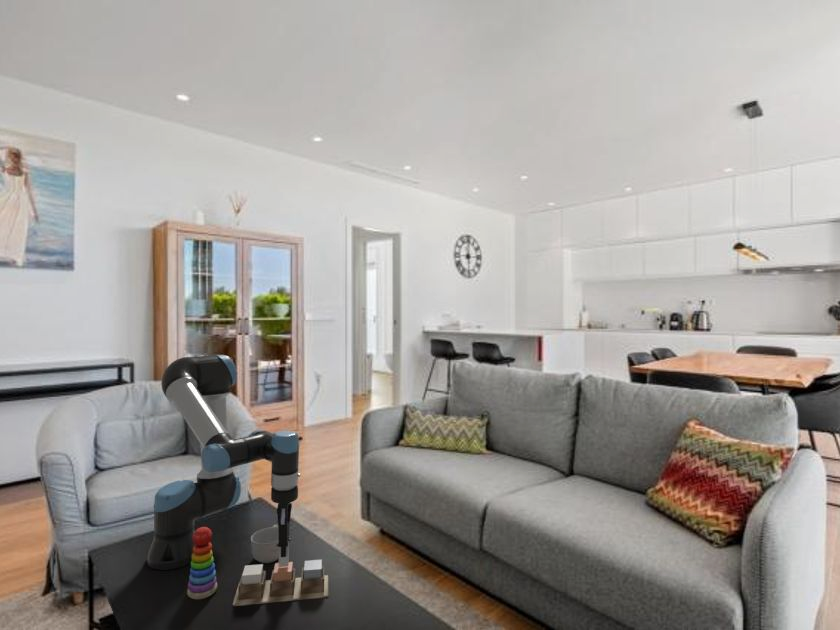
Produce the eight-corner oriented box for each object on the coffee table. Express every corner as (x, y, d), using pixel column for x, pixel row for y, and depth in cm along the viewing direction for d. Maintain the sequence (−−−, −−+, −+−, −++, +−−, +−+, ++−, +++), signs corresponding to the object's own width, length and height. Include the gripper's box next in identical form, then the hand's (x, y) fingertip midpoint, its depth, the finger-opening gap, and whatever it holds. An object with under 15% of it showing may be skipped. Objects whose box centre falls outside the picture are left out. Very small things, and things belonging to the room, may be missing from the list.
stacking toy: (223, 586, 140) (224, 523, 139) (205, 603, 132) (206, 537, 131) (199, 582, 141) (200, 520, 141) (180, 598, 133) (181, 533, 133)
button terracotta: (273, 586, 135) (273, 573, 135) (275, 576, 140) (275, 563, 140) (291, 585, 136) (291, 571, 136) (292, 574, 141) (292, 561, 141)
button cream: (241, 589, 134) (242, 575, 133) (244, 578, 138) (245, 565, 138) (260, 587, 134) (260, 574, 134) (262, 577, 139) (262, 564, 139)
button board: (232, 606, 131) (232, 590, 131) (239, 584, 141) (239, 569, 140) (328, 597, 136) (328, 581, 136) (328, 576, 146) (328, 562, 146)
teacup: (274, 569, 149) (275, 544, 148) (243, 564, 151) (244, 540, 150) (295, 547, 162) (295, 524, 162) (266, 542, 164) (266, 520, 164)
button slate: (303, 583, 137) (304, 570, 137) (304, 573, 142) (304, 560, 142) (321, 582, 138) (321, 568, 138) (321, 572, 143) (321, 559, 143)
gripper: (296, 494, 131) (295, 577, 132) (299, 476, 144) (298, 552, 145) (268, 495, 130) (267, 579, 131) (273, 477, 143) (272, 554, 143)
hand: (283, 565), depth 138 cm, fingers closed
